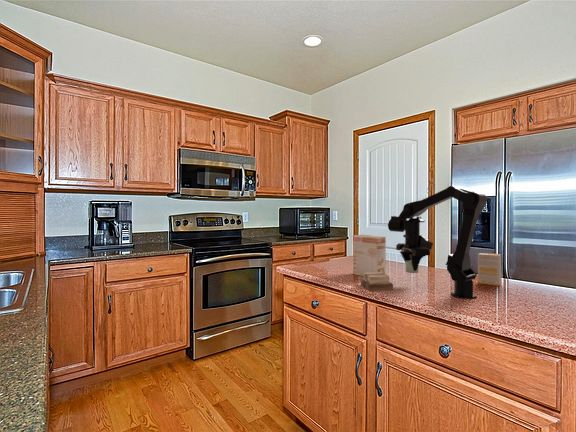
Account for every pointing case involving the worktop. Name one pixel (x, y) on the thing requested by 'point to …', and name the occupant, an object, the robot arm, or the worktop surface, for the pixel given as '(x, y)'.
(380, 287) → the base slab
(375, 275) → the top block
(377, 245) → the coffeecake box
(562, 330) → the worktop surface
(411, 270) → the green rounded lump
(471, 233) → the robot arm
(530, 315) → the worktop surface
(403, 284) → the worktop surface
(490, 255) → the supplement box
